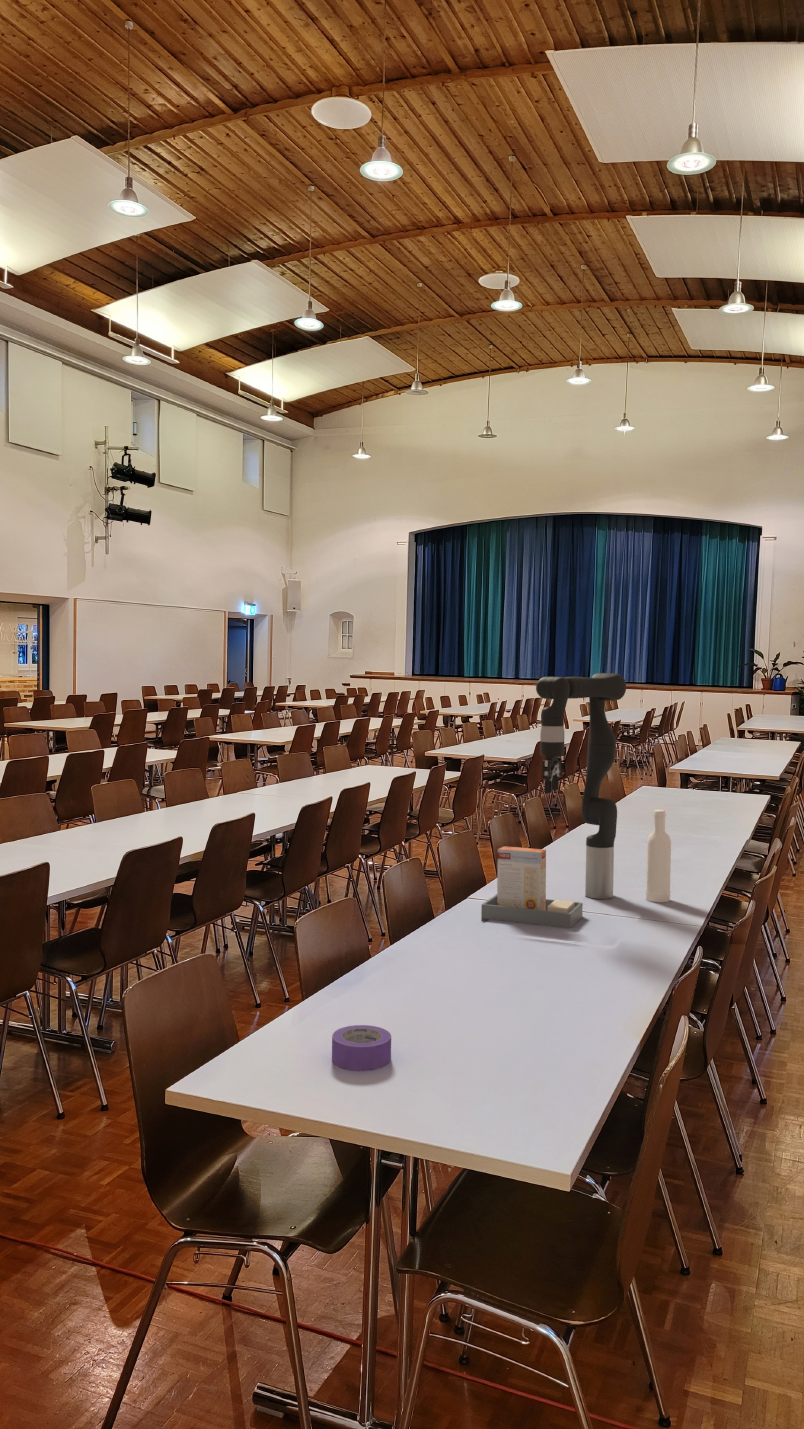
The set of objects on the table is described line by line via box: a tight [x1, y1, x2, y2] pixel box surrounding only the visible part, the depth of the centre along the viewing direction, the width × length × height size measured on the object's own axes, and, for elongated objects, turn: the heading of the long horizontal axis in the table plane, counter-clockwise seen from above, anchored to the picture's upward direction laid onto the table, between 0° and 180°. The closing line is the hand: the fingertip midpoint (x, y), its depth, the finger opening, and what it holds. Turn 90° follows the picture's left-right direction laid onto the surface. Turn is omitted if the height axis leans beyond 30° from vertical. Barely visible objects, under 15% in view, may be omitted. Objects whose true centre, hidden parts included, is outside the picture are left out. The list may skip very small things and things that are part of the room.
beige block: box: [547, 899, 575, 913], centre depth 304 cm, size 9×6×5 cm, turn 157°
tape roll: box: [331, 1024, 392, 1072], centre depth 199 cm, size 12×12×5 cm
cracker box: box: [496, 845, 547, 911], centre depth 308 cm, size 14×6×21 cm, turn 64°
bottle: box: [645, 809, 672, 904], centre depth 333 cm, size 8×8×30 cm
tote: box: [480, 894, 584, 929], centre depth 307 cm, size 15×28×5 cm, turn 67°
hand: (551, 791), depth 317 cm, fingers open, 8 cm apart
